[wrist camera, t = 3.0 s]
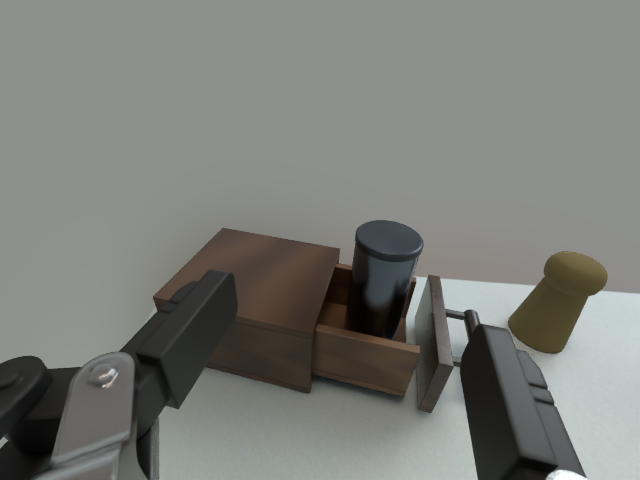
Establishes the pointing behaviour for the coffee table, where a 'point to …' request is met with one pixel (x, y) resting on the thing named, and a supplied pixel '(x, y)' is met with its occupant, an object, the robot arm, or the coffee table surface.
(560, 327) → the pepper shaker
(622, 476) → the coffee table surface
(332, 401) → the coffee table surface
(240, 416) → the coffee table surface
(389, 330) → the slate tube
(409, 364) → the drawer
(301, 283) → the cabinet
